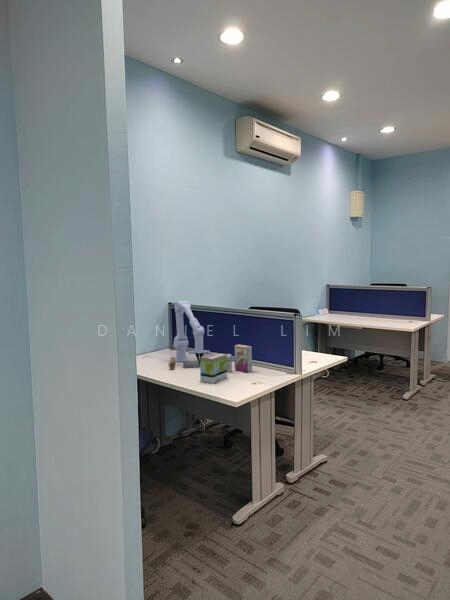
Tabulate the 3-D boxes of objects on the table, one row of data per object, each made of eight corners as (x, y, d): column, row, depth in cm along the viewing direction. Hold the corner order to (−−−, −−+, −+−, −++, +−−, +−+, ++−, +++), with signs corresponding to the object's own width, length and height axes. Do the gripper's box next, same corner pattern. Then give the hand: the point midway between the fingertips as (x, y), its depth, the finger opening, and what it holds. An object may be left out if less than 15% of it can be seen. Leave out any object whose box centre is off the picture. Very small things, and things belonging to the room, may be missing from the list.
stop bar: (171, 364, 275) (170, 357, 274) (175, 363, 275) (175, 356, 274) (169, 370, 259) (169, 362, 258) (174, 369, 259) (174, 362, 259)
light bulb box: (231, 369, 256) (231, 353, 256) (231, 372, 250) (230, 356, 249) (215, 369, 258) (215, 353, 257) (214, 372, 251) (214, 356, 250)
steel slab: (183, 365, 272) (183, 361, 272) (197, 364, 273) (197, 360, 273) (183, 368, 262) (183, 364, 262) (198, 368, 263) (198, 363, 263)
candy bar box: (234, 370, 256) (233, 345, 254) (239, 368, 259) (238, 344, 258) (247, 372, 248) (247, 347, 247) (252, 371, 252) (252, 346, 250)
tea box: (214, 383, 226) (213, 358, 225) (200, 381, 232) (199, 356, 230) (227, 377, 239) (227, 353, 238) (214, 375, 244) (213, 352, 243)
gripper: (188, 346, 263) (188, 365, 264) (209, 345, 264) (210, 365, 265) (188, 344, 270) (188, 363, 271) (209, 343, 271) (209, 362, 272)
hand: (199, 364), depth 268 cm, fingers closed
